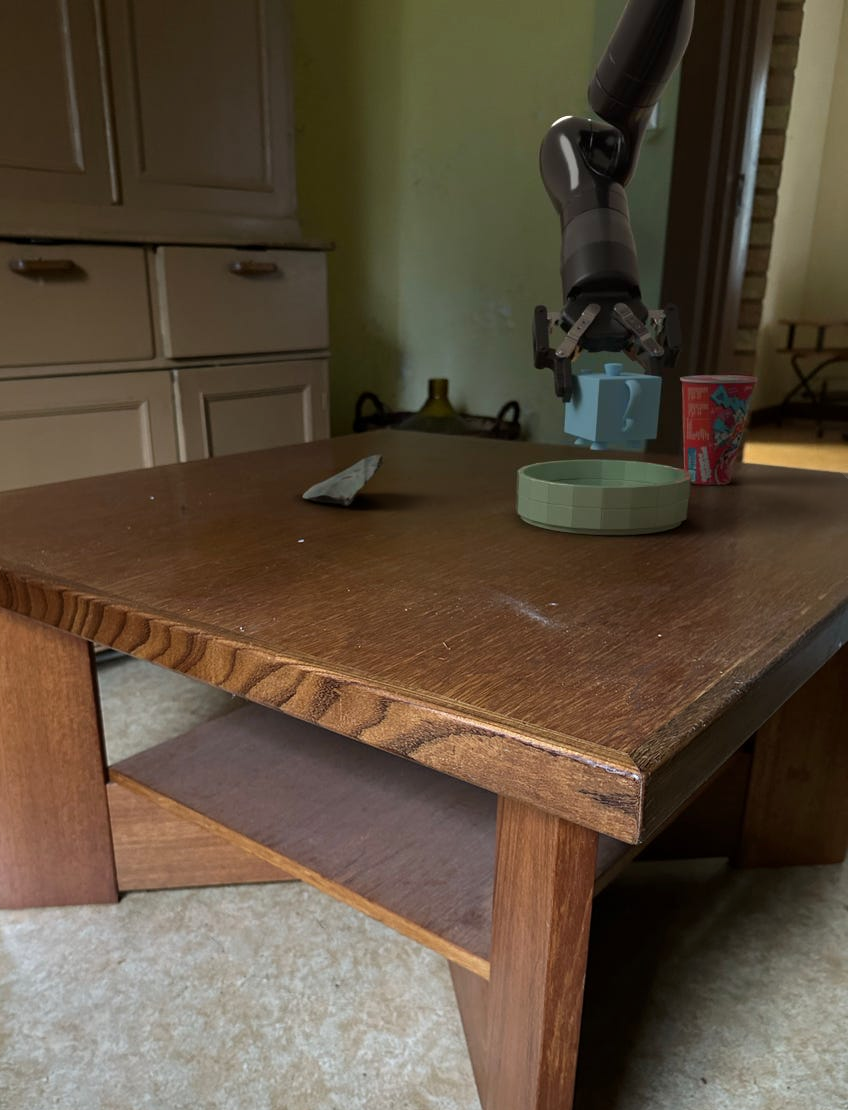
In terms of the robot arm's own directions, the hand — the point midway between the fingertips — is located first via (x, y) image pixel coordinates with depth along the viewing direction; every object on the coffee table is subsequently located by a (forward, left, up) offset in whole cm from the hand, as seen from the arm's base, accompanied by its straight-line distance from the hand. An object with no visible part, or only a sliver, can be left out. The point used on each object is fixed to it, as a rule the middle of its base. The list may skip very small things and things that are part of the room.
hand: (610, 396), depth 85 cm
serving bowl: (0, -1, -12) cm, 12 cm away
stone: (+27, -10, -12) cm, 31 cm away
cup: (-16, -22, -12) cm, 30 cm away
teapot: (0, -1, -5) cm, 5 cm away
